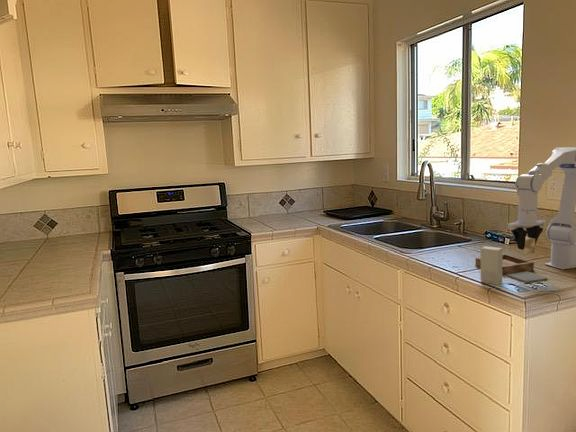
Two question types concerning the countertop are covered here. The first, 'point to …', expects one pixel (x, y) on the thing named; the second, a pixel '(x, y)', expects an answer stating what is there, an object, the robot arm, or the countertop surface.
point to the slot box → (512, 264)
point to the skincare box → (491, 265)
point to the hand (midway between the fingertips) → (526, 248)
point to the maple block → (527, 246)
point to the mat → (526, 277)
